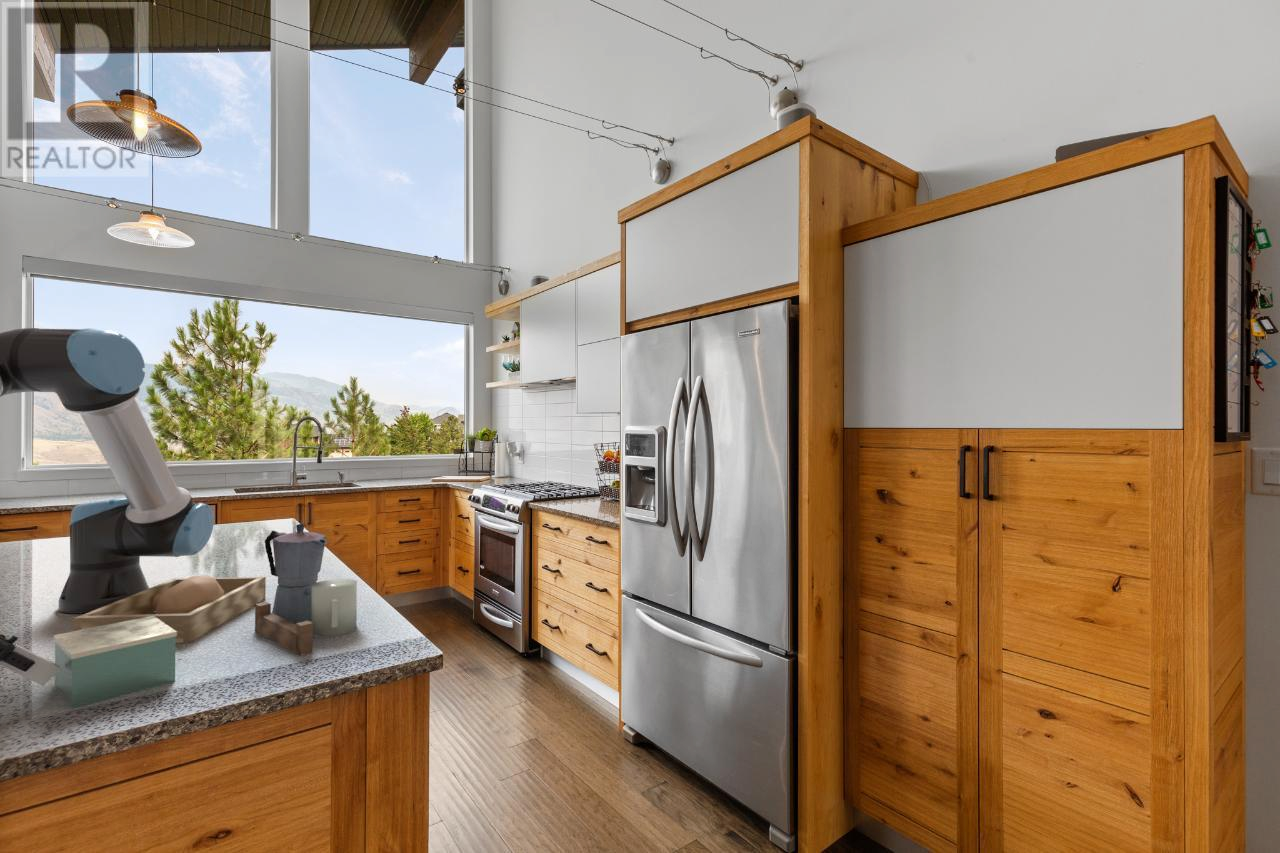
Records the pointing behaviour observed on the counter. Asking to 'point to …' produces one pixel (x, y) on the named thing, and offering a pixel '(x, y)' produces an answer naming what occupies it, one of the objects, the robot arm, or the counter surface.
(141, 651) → the green tea tin
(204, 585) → the squash
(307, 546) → the moka pot
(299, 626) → the walnut stop rail
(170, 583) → the pine crate
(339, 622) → the sage mug
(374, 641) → the counter surface
